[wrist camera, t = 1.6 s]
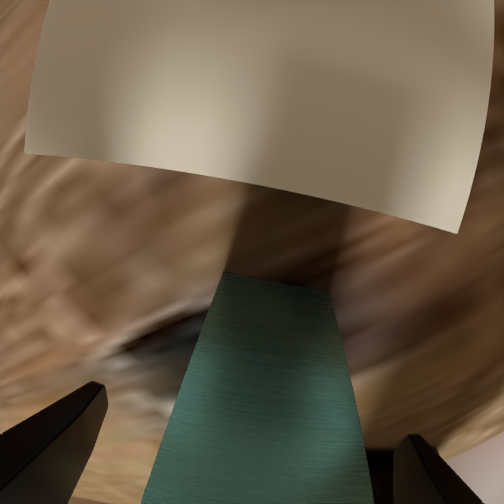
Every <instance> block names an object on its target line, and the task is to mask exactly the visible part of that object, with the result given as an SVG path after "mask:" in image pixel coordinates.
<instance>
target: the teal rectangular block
mask: <svg viewBox="0 0 504 504" xmlns="http://www.w3.org/2000/svg"><path fill="white" fill-rule="evenodd" d="M141 504H374V499H373V492H372V486H371V480H370V474H369V468H368V462H367V457H366V451H365V446H364V440H363V435H362V430H361V425H360V420H359V415H358V410H357V405H356V401H355V396H354V391H353V387H352V382H351V378H350V373H349V369H348V365H347V361H346V356H345V352H344V348H343V344H342V340H341V336H340V332H339V328H338V324H337V320H336V316H335V312H334V308H333V304H332V301H331V297H330V293H329V292H327V291H322V290H316V289H311V288H306V287H301V286H295V285H290V284H285V283H280V282H275V281H270V280H264V279H259V278H254V277H249V276H244V275H239V274H234V273H229V272H225V271H223V274H222V277H221V279H220V282H219V285H218V287H217V290H216V293H215V295H214V298H213V301H212V303H211V306H210V309H209V311H208V314H207V317H206V319H205V322H204V325H203V328H202V330H201V333H200V336H199V338H198V341H197V344H196V347H195V349H194V352H193V355H192V358H191V360H190V363H189V366H188V369H187V371H186V374H185V377H184V380H183V382H182V385H181V388H180V391H179V394H178V396H177V399H176V402H175V405H174V408H173V410H172V413H171V416H170V419H169V422H168V425H167V428H166V430H165V433H164V436H163V439H162V442H161V445H160V448H159V451H158V453H157V456H156V459H155V462H154V465H153V468H152V471H151V474H150V477H149V480H148V483H147V486H146V489H145V492H144V495H143V498H142V501H141Z"/></svg>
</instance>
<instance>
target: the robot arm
mask: <svg viewBox="0 0 504 504" xmlns="http://www.w3.org/2000/svg"><path fill="white" fill-rule="evenodd" d="M107 409H108V399H107V393H106V388H105V386H104V385H103V384H100V383H97V382H95V381H91V382H89V383H87V384H85V385H84V386H82V387H80V388H79V389H77V390H75V391H73V392H72V393H70V394H68V395H67V396H65V397H63V398H62V399H60V400H58V401H57V402H55V403H53V404H52V405H50V406H48V407H46V408H45V409H43V410H41V411H40V412H38V413H36V414H34V415H33V416H31V417H29V418H28V419H26V420H24V421H22V422H21V423H19V424H17V425H15V426H14V427H12V428H10V429H8V430H7V431H5V432H3V433H2V434H0V504H68V502H69V500H70V498H71V495H72V493H73V491H74V489H75V487H76V485H77V483H78V480H79V478H80V476H81V474H82V472H83V470H84V468H85V466H86V464H87V462H88V460H89V458H90V456H91V453H92V451H93V449H94V446H95V443H96V440H97V437H98V434H99V431H100V429H101V426H102V423H103V420H104V417H105V415H106V412H107ZM366 457H367V462H368V468H369V474H370V480H371V486H372V492H373V499H374V504H484V503H482V501H481V500H480V499H479V497H478V496H477V495H476V494H475V493H474V492H473V491H472V490H471V489H470V488H469V487H468V486H467V485H466V483H465V482H464V481H463V480H462V479H461V478H460V477H459V476H458V475H457V474H456V473H455V472H454V471H453V470H452V469H451V467H450V466H449V465H447V463H446V462H445V461H444V460H443V459H442V458H441V457H440V456H439V452H438V449H435V448H434V449H433V448H432V447H431V446H430V445H429V444H428V443H427V442H426V441H425V440H424V438H423V437H422V436H421V435H419V434H408V435H406V436H405V437H404V439H403V440H402V441H401V442H400V444H399V445H398V446H397V447H396V449H395V451H366Z"/></svg>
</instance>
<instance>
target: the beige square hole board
mask: <svg viewBox="0 0 504 504" xmlns="http://www.w3.org/2000/svg"><path fill="white" fill-rule="evenodd" d="M493 51H494V0H50V3H49V6H48V10H47V13H46V17H45V20H44V24H43V28H42V32H41V36H40V40H39V45H38V49H37V54H36V59H35V64H34V70H33V75H32V82H31V88H30V95H29V103H28V112H27V122H26V133H25V150H24V154H38V155H50V156H62V157H72V158H82V159H91V160H100V161H109V162H117V163H125V164H133V165H140V166H148V167H155V168H162V169H168V170H175V171H181V172H188V173H194V174H200V175H206V176H212V177H218V178H223V179H229V180H234V181H240V182H245V183H250V184H256V185H261V186H266V187H271V188H276V189H281V190H285V191H290V192H295V193H300V194H304V195H309V196H313V197H318V198H322V199H327V200H331V201H335V202H340V203H344V204H348V205H352V206H356V207H360V208H364V209H368V210H372V211H376V212H380V213H384V214H388V215H392V216H395V217H399V218H403V219H407V220H410V221H414V222H418V223H421V224H425V225H428V226H432V227H435V228H439V229H442V230H445V231H449V232H452V233H455V234H457V233H458V230H459V227H460V224H461V221H462V218H463V215H464V211H465V208H466V205H467V201H468V198H469V194H470V190H471V187H472V183H473V179H474V175H475V171H476V167H477V162H478V158H479V153H480V149H481V144H482V139H483V134H484V128H485V122H486V116H487V110H488V103H489V95H490V87H491V77H492V66H493Z"/></svg>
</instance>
